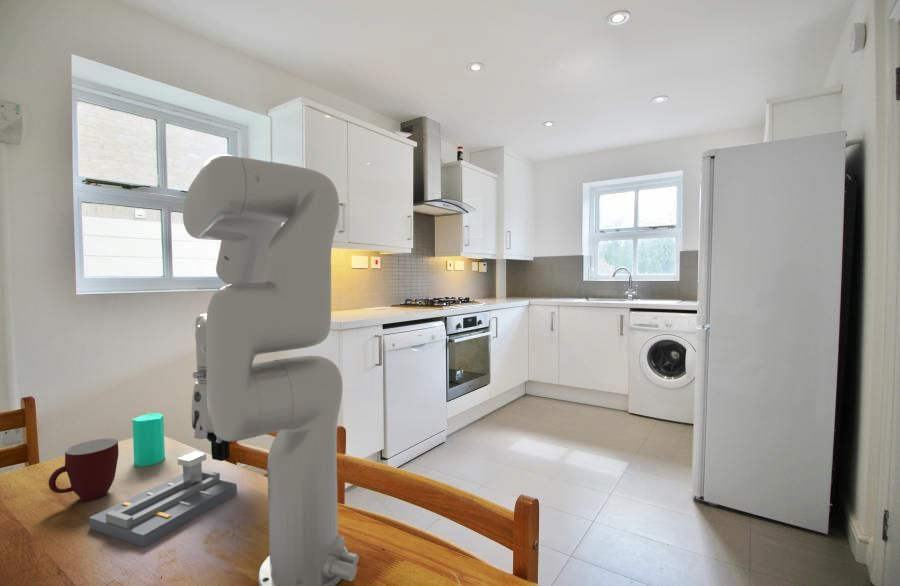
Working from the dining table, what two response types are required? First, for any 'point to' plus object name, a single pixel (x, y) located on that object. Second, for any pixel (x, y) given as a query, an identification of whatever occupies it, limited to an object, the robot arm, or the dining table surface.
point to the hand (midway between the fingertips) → (220, 458)
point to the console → (162, 509)
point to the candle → (148, 439)
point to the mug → (89, 468)
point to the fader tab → (192, 468)
